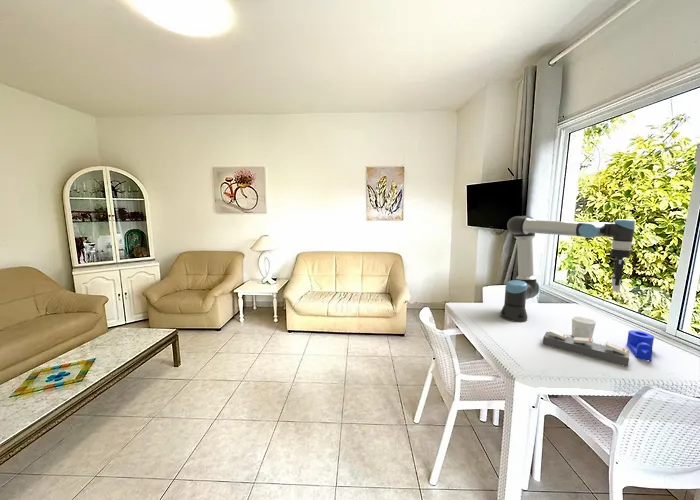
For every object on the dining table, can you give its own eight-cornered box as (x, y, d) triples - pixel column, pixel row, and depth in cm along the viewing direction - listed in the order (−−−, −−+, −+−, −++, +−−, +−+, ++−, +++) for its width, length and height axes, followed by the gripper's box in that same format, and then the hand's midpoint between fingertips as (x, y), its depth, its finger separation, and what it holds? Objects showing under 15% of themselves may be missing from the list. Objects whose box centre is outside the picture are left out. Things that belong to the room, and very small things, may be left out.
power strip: (542, 344, 151) (543, 335, 150) (545, 338, 157) (546, 330, 157) (627, 367, 129) (629, 356, 129) (627, 359, 136) (628, 349, 135)
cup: (588, 334, 162) (590, 317, 161) (596, 342, 153) (599, 324, 152) (567, 332, 166) (569, 315, 164) (574, 339, 156) (576, 322, 155)
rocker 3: (605, 346, 136) (606, 344, 135) (605, 343, 139) (606, 341, 139) (625, 354, 131) (626, 352, 131) (624, 351, 135) (626, 349, 134)
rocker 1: (548, 333, 150) (549, 330, 150) (550, 330, 154) (551, 328, 153) (564, 340, 146) (565, 337, 146) (566, 337, 149) (567, 335, 149)
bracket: (625, 342, 154) (627, 328, 153) (650, 347, 148) (652, 333, 147) (629, 357, 139) (632, 341, 138) (657, 363, 133) (659, 347, 132)
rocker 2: (574, 342, 144) (573, 339, 144) (575, 339, 147) (574, 336, 147) (592, 343, 139) (591, 340, 139) (593, 340, 142) (592, 337, 142)
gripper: (633, 252, 141) (626, 295, 144) (629, 247, 160) (623, 285, 163) (612, 250, 145) (606, 292, 149) (610, 246, 164) (605, 282, 167)
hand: (615, 288), depth 156 cm, fingers open, 13 cm apart
